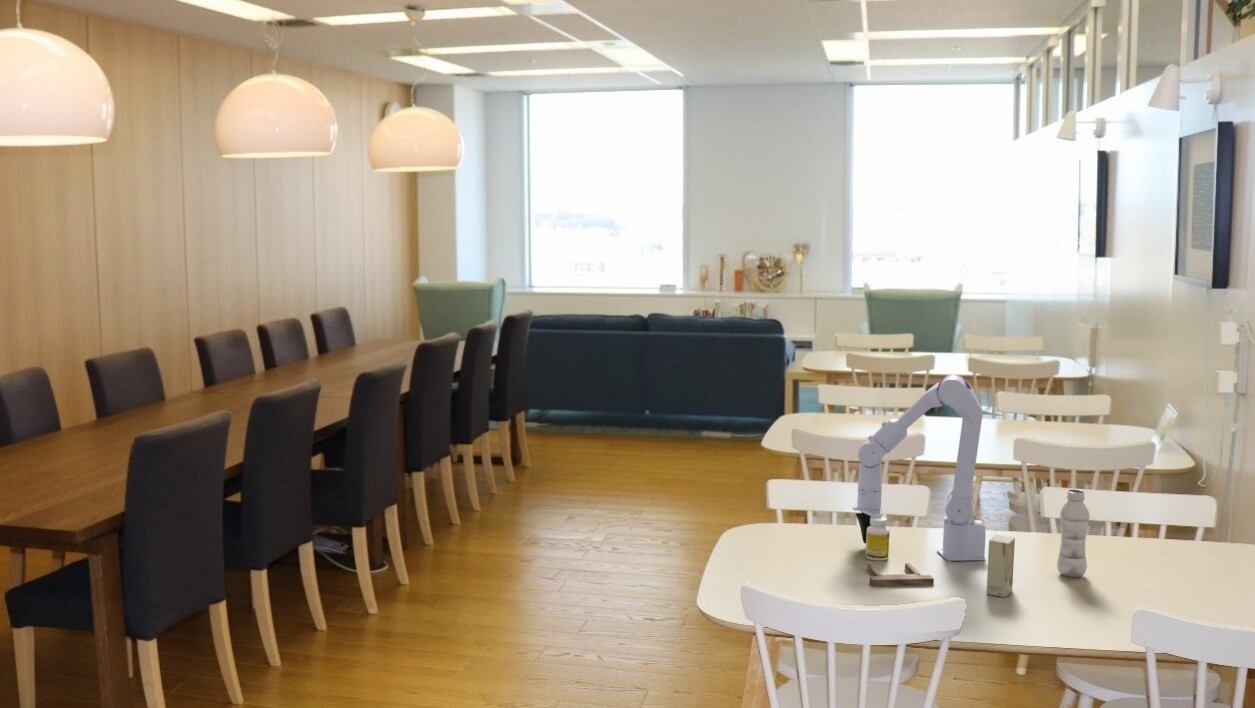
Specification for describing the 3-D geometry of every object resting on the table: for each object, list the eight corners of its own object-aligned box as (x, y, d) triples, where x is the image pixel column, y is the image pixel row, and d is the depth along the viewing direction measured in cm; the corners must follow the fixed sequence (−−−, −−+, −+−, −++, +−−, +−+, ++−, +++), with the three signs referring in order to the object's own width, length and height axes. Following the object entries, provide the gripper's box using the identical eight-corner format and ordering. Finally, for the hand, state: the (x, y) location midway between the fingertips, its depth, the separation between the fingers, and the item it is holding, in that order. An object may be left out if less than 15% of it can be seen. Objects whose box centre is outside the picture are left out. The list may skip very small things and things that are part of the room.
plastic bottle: (1087, 573, 271) (1092, 489, 269) (1085, 582, 265) (1090, 496, 263) (1057, 569, 274) (1062, 486, 271) (1055, 578, 268) (1059, 493, 265)
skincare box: (1005, 598, 254) (1008, 543, 253) (985, 594, 257) (988, 540, 255) (1013, 590, 260) (1015, 536, 258) (993, 586, 262) (995, 533, 260)
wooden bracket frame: (917, 569, 274) (917, 562, 274) (933, 585, 263) (933, 578, 263) (858, 570, 273) (858, 563, 273) (872, 586, 262) (872, 579, 262)
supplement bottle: (890, 561, 280) (892, 521, 278) (867, 561, 280) (869, 521, 279) (886, 554, 285) (887, 515, 284) (863, 554, 285) (865, 515, 284)
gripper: (846, 482, 295) (844, 534, 297) (861, 497, 281) (860, 551, 283) (873, 481, 296) (871, 534, 298) (890, 496, 281) (888, 551, 283)
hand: (867, 542), depth 290 cm, fingers closed
